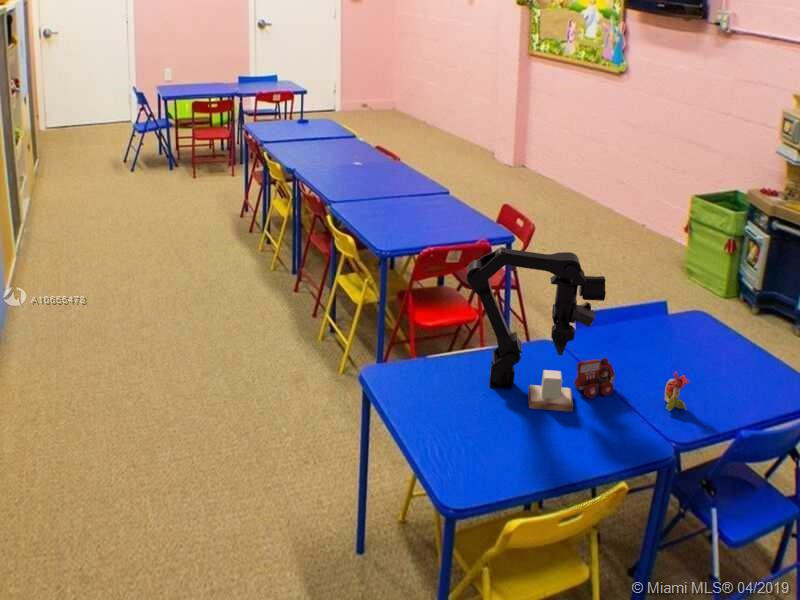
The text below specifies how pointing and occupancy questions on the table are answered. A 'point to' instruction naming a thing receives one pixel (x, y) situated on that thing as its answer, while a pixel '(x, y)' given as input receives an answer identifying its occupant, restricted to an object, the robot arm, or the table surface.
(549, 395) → the white block
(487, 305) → the robot arm
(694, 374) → the table surface
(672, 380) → the bird rattle
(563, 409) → the plinth
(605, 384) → the toy fire truck
